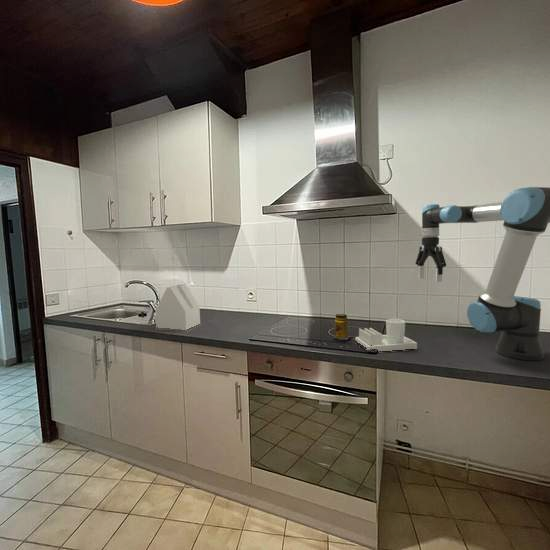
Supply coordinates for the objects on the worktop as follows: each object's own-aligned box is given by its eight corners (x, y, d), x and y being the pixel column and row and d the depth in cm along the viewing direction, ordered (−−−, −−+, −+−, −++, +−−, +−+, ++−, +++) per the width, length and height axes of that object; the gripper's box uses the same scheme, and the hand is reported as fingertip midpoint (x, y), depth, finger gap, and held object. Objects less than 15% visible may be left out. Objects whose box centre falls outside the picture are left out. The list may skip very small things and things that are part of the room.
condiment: (331, 339, 149) (331, 315, 148) (340, 335, 156) (340, 311, 154) (345, 342, 144) (345, 317, 143) (353, 337, 151) (353, 313, 150)
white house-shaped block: (156, 330, 176) (153, 287, 173) (172, 323, 191) (170, 283, 188) (186, 332, 171) (183, 287, 168) (200, 325, 185) (198, 283, 183)
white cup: (406, 346, 132) (406, 323, 131) (387, 345, 133) (387, 322, 132) (402, 340, 139) (403, 318, 139) (384, 339, 141) (384, 318, 140)
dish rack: (417, 349, 132) (417, 332, 131) (368, 353, 129) (368, 336, 128) (399, 339, 146) (399, 324, 145) (355, 343, 143) (355, 327, 142)
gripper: (408, 237, 163) (408, 277, 165) (440, 236, 138) (439, 283, 140) (421, 237, 164) (421, 277, 166) (455, 235, 139) (454, 282, 141)
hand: (429, 280), depth 153 cm, fingers open, 13 cm apart
